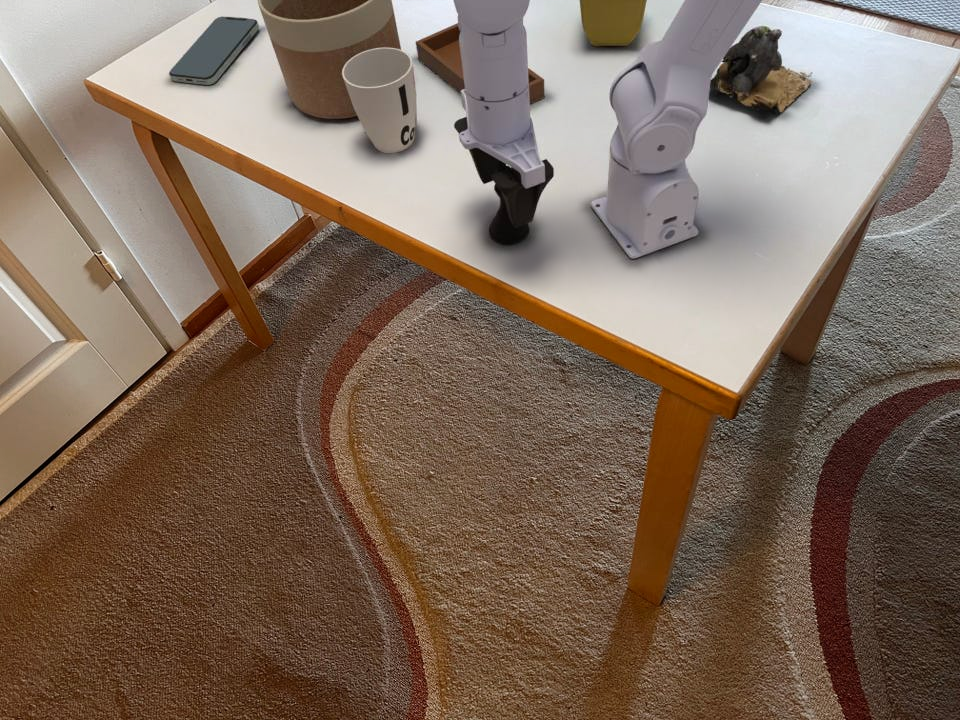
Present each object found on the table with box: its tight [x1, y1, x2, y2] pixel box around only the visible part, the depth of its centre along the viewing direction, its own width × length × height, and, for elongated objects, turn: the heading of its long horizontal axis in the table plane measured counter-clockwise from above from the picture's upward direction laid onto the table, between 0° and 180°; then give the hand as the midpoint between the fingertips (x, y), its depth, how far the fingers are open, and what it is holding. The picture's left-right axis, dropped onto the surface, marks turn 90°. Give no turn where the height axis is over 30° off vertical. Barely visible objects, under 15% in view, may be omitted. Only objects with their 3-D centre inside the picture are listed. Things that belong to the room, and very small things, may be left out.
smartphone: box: [168, 16, 260, 86], centre depth 105 cm, size 8×2×15 cm
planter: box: [257, 0, 402, 120], centre depth 92 cm, size 16×16×14 cm
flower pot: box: [579, 0, 648, 47], centre depth 95 cm, size 9×9×9 cm
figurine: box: [709, 25, 814, 119], centre depth 84 cm, size 10×10×10 cm
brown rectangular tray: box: [415, 22, 546, 105], centre depth 95 cm, size 19×8×3 cm, turn 34°
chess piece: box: [488, 161, 530, 246], centre depth 74 cm, size 4×4×10 cm
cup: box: [342, 48, 418, 154], centre depth 86 cm, size 8×8×10 cm
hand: (506, 200), depth 75 cm, fingers open, 7 cm apart
